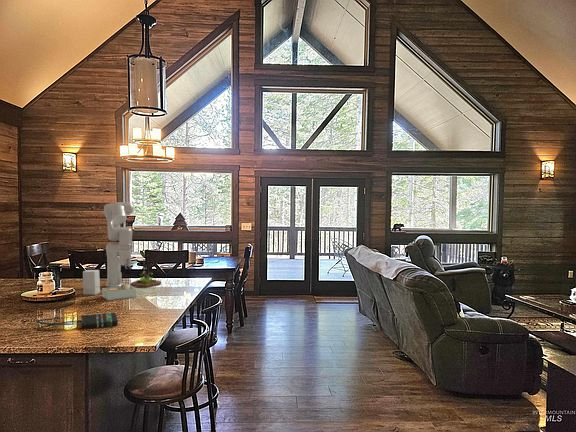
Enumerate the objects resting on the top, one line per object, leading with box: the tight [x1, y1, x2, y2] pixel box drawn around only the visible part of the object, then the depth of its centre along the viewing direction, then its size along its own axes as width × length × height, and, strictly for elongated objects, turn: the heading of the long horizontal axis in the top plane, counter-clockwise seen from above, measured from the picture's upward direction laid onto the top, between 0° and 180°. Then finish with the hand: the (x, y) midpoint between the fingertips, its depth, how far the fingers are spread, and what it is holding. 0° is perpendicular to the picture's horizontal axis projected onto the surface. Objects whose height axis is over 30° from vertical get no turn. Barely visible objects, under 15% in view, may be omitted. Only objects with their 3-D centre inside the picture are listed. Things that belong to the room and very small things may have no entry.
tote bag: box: [36, 312, 119, 332], centre depth 201 cm, size 21×5×35 cm
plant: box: [129, 270, 162, 289], centre depth 302 cm, size 20×20×11 cm
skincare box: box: [82, 269, 101, 296], centre depth 270 cm, size 8×7×16 cm
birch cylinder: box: [121, 283, 130, 290], centre depth 265 cm, size 5×5×7 cm
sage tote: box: [101, 286, 137, 302], centre depth 262 cm, size 13×17×6 cm
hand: (125, 273), depth 265 cm, fingers open, 9 cm apart
